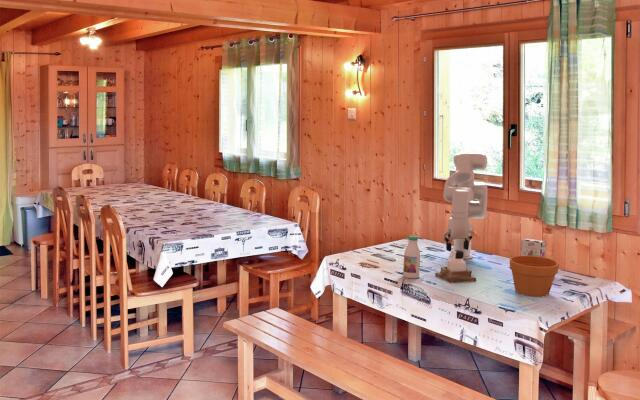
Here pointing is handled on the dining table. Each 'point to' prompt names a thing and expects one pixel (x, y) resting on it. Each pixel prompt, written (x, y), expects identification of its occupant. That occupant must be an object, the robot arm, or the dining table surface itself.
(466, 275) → the bottle stand
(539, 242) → the candy bar box
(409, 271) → the milk bottle
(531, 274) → the flower pot
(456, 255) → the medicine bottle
